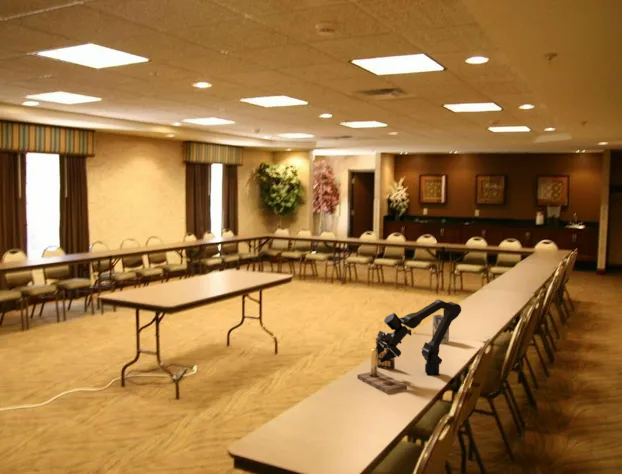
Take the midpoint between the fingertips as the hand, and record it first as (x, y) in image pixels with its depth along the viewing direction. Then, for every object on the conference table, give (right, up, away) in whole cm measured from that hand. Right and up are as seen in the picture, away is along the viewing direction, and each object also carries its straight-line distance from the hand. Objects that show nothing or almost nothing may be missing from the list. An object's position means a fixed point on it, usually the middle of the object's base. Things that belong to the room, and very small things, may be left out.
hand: (376, 359), depth 278 cm
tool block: (+2, -11, -5) cm, 12 cm away
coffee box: (+48, -5, +72) cm, 86 cm away
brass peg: (-1, -10, 0) cm, 11 cm away
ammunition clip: (+7, -9, +20) cm, 23 cm away
